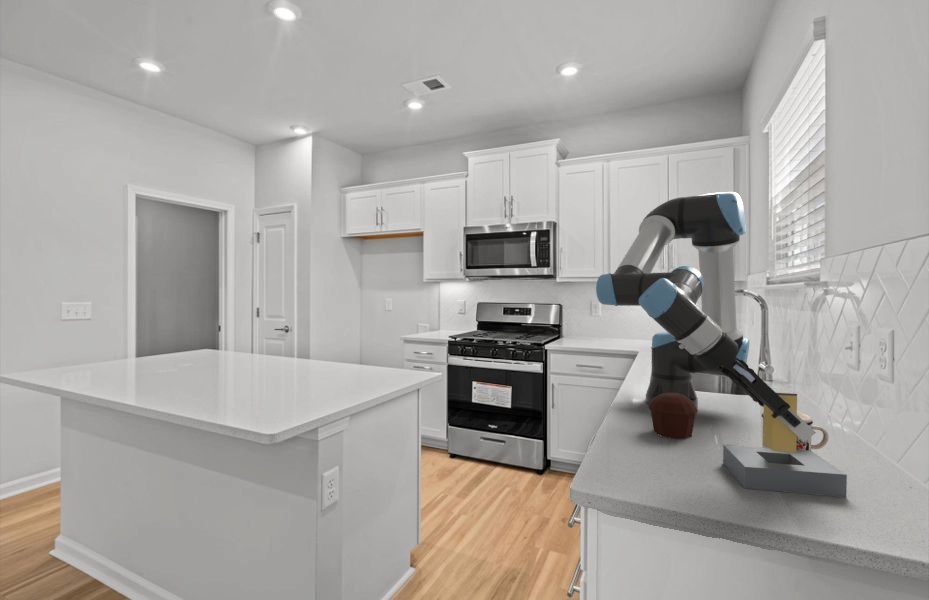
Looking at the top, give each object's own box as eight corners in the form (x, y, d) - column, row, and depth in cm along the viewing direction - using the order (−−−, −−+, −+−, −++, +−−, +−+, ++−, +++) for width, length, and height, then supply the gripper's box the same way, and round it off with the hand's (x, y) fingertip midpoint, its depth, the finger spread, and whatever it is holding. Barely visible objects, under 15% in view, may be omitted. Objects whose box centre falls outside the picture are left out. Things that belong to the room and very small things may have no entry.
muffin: (670, 442, 107) (670, 401, 107) (638, 429, 117) (638, 391, 117) (708, 437, 111) (708, 397, 110) (674, 424, 121) (674, 387, 121)
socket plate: (723, 463, 94) (723, 444, 94) (810, 470, 90) (811, 450, 90) (744, 488, 82) (745, 466, 82) (846, 497, 79) (846, 474, 79)
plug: (763, 443, 88) (763, 388, 88) (786, 445, 87) (787, 389, 87) (772, 450, 84) (772, 392, 84) (796, 452, 83) (797, 393, 83)
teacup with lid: (767, 461, 95) (768, 407, 95) (756, 447, 104) (756, 397, 103) (836, 469, 91) (837, 412, 91) (819, 453, 99) (820, 401, 99)
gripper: (682, 350, 97) (767, 431, 94) (705, 363, 81) (809, 462, 77) (709, 327, 96) (796, 408, 93) (738, 334, 79) (846, 434, 76)
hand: (802, 432), depth 85 cm, fingers closed on plug, 4 cm apart
